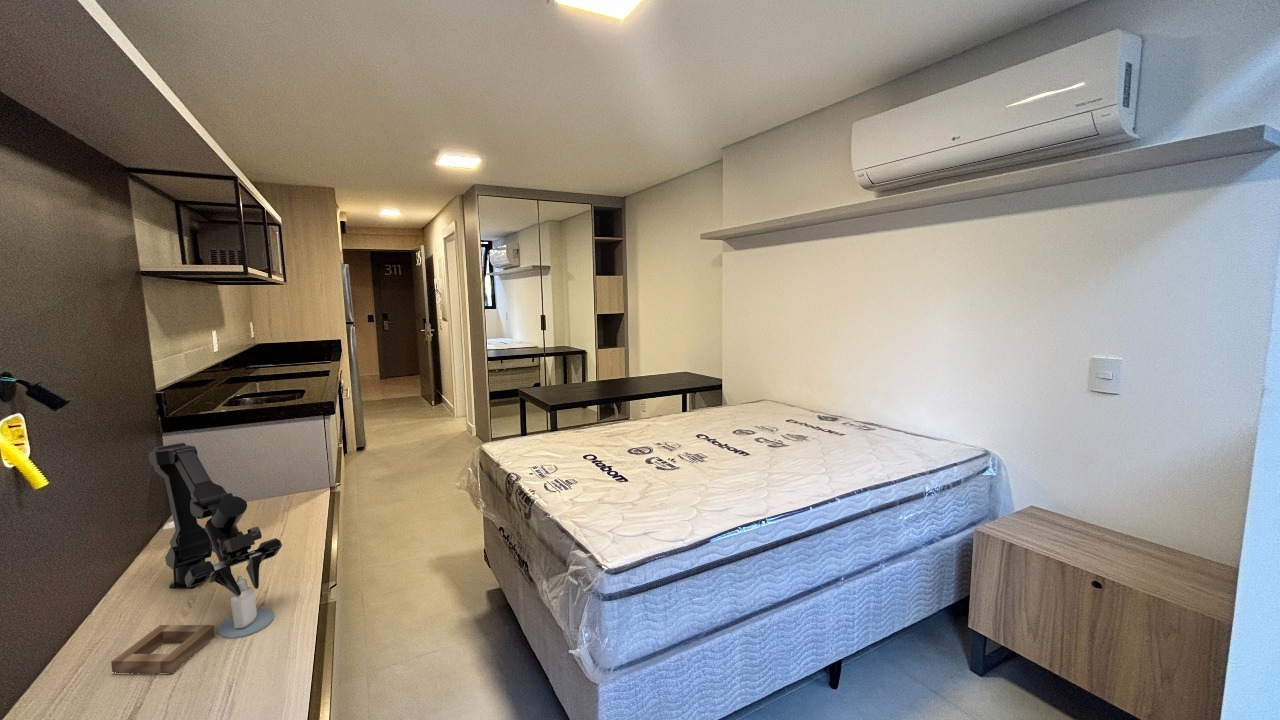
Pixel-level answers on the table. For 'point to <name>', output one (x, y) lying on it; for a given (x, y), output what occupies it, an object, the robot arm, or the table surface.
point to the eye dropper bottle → (243, 605)
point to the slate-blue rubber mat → (257, 625)
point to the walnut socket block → (146, 663)
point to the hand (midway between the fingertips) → (248, 591)
